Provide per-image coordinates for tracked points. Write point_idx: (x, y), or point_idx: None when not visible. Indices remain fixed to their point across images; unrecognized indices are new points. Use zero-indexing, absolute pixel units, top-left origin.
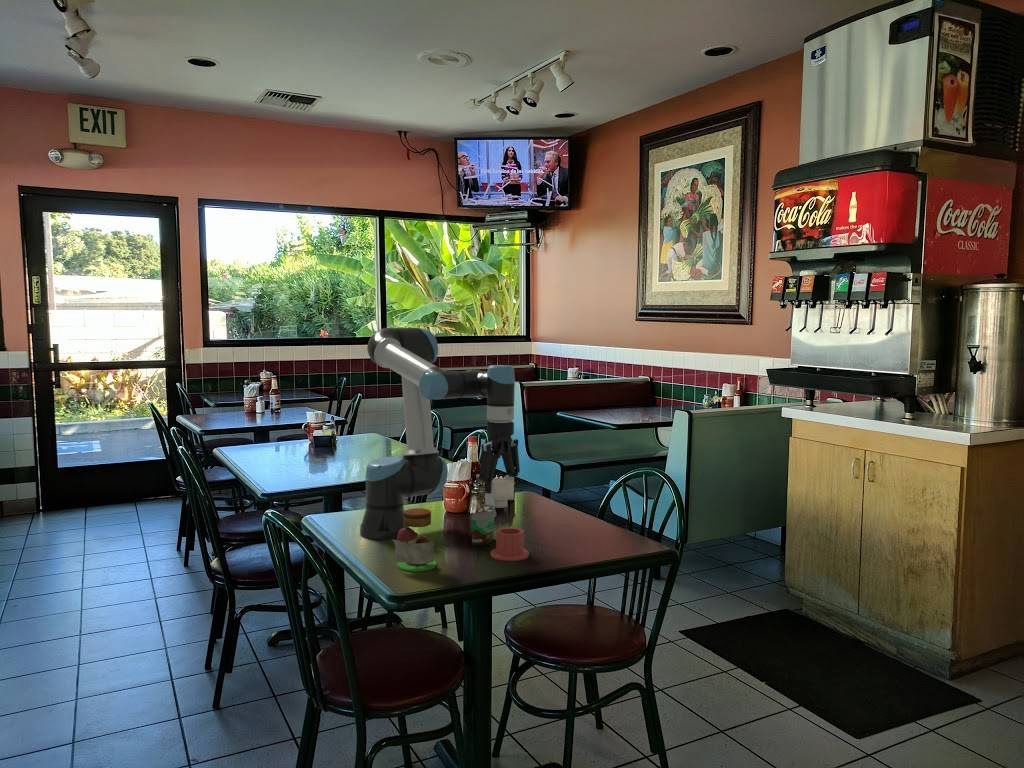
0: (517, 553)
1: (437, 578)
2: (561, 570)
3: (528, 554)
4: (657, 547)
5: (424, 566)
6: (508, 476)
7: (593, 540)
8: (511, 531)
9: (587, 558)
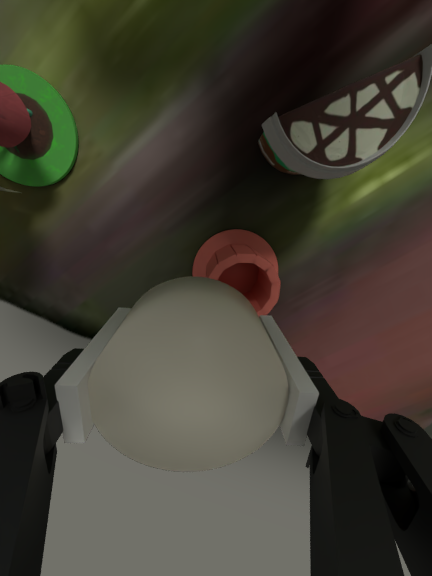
0: None
1: (8, 238)
2: None
3: None
4: None
5: (20, 166)
6: (296, 418)
7: (409, 349)
8: (267, 276)
9: None
